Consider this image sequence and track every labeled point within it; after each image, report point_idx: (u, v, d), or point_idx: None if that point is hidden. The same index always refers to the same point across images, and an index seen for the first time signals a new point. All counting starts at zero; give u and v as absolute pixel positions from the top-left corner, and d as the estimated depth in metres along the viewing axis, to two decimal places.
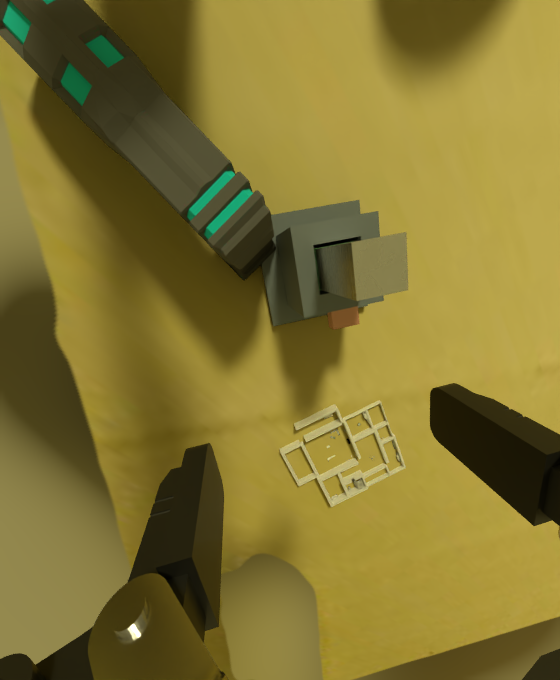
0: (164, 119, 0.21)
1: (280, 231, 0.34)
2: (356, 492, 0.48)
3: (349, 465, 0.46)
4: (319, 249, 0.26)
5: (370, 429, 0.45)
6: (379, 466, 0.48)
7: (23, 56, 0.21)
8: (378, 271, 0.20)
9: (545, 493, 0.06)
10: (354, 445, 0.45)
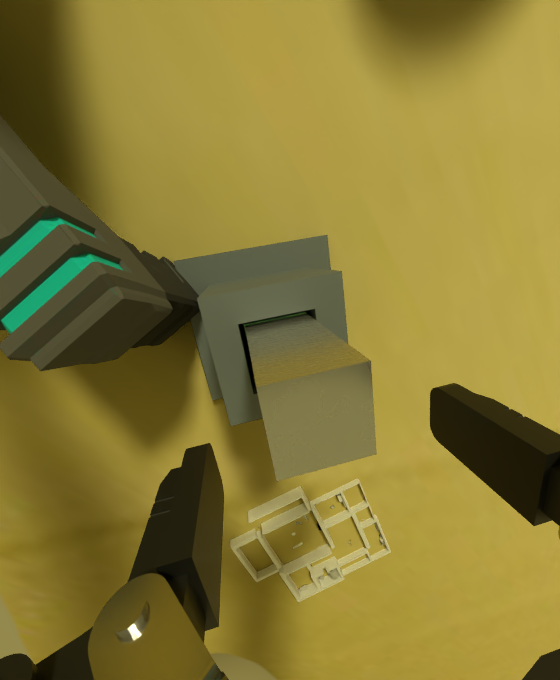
0: None
1: (215, 278, 0.24)
2: (329, 584, 0.39)
3: (320, 555, 0.37)
4: (246, 333, 0.16)
5: (346, 512, 0.36)
6: (358, 551, 0.39)
7: None
8: (316, 430, 0.10)
9: (545, 493, 0.06)
10: (326, 534, 0.36)
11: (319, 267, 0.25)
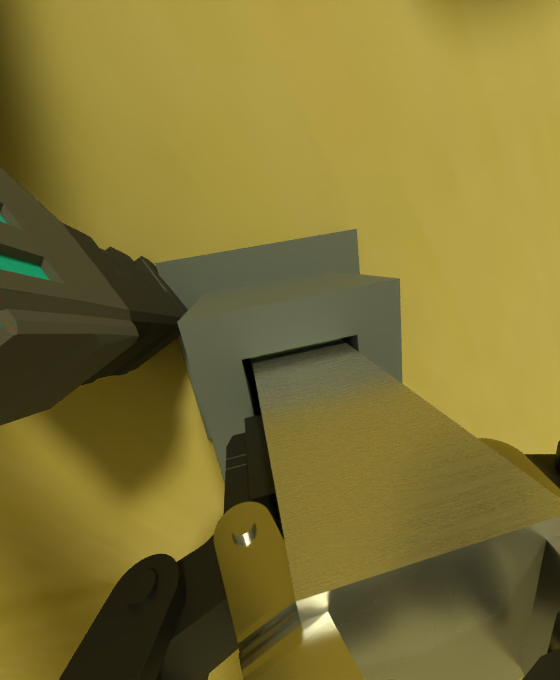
0: None
1: (211, 285, 0.18)
2: None
3: None
4: (254, 374, 0.10)
5: None
6: None
7: None
8: (427, 656, 0.04)
9: None
10: None
11: (345, 271, 0.20)
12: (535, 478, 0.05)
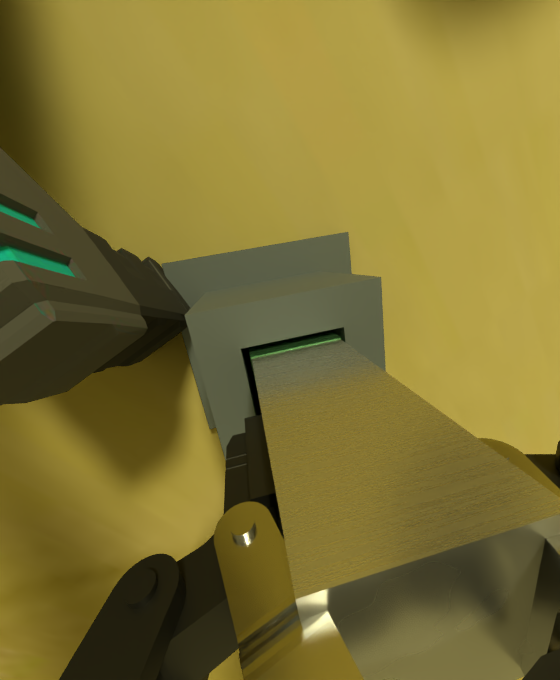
0: None
1: (213, 284, 0.20)
2: None
3: None
4: (254, 374, 0.10)
5: None
6: None
7: None
8: (426, 655, 0.04)
9: None
10: None
11: (338, 271, 0.21)
12: (535, 478, 0.05)
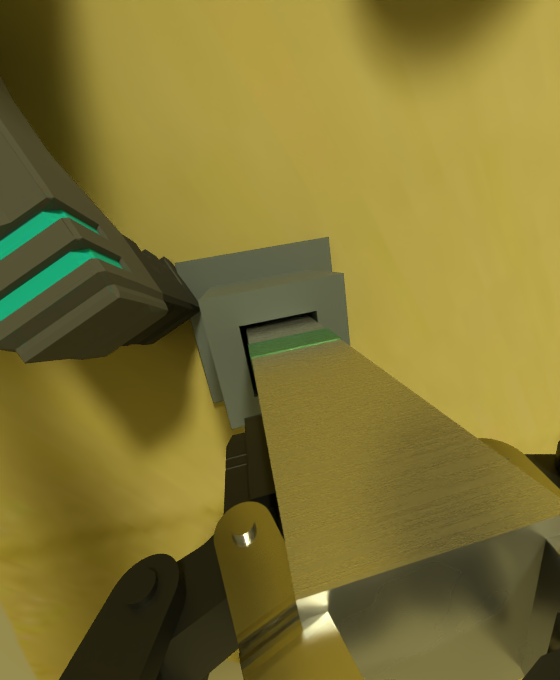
0: None
1: (216, 280, 0.24)
2: None
3: None
4: (254, 374, 0.10)
5: None
6: None
7: None
8: (427, 656, 0.04)
9: None
10: None
11: (320, 269, 0.25)
12: (535, 478, 0.05)
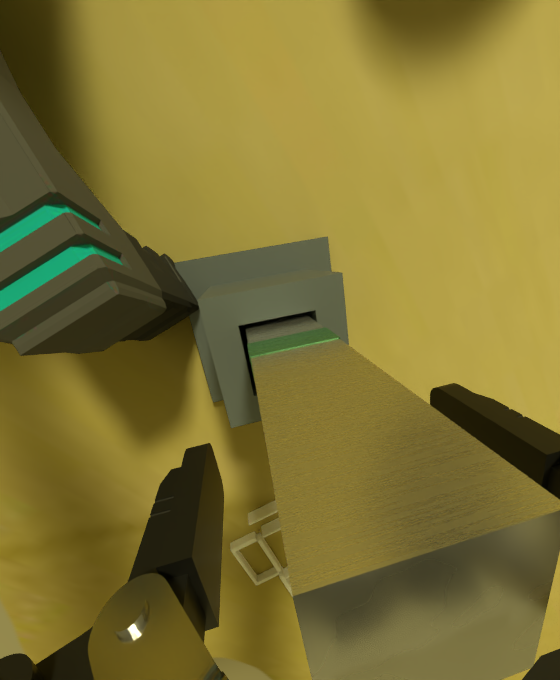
0: None
1: (216, 280, 0.24)
2: None
3: None
4: (253, 373, 0.10)
5: None
6: None
7: None
8: (423, 651, 0.04)
9: None
10: None
11: (320, 269, 0.25)
12: None
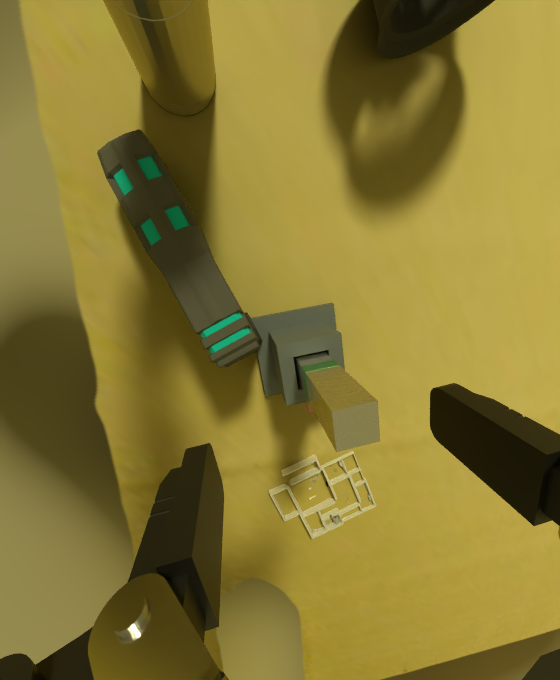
0: (203, 270, 0.30)
1: (272, 327, 0.44)
2: (333, 527, 0.57)
3: (327, 504, 0.55)
4: (309, 378, 0.30)
5: (345, 474, 0.54)
6: (353, 504, 0.57)
7: (120, 201, 0.31)
8: (354, 429, 0.24)
9: (545, 493, 0.06)
10: (331, 488, 0.54)
11: (329, 320, 0.45)
12: None
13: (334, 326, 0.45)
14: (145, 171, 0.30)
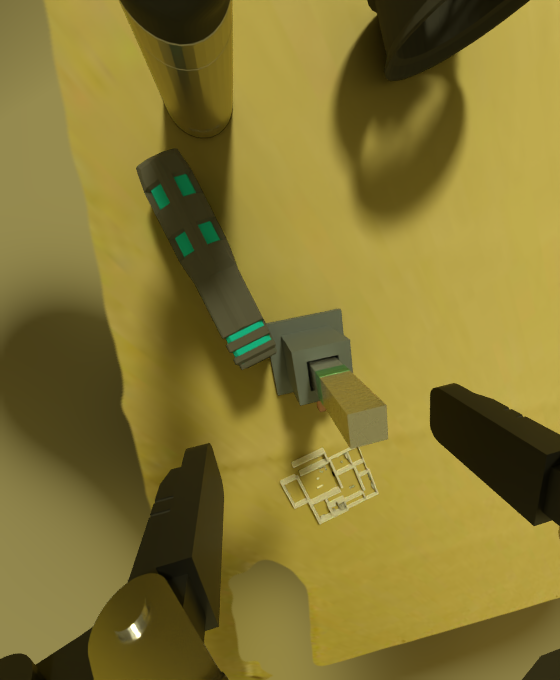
0: (231, 281, 0.34)
1: (284, 332, 0.47)
2: (339, 513, 0.62)
3: (334, 492, 0.60)
4: (323, 383, 0.33)
5: (350, 465, 0.59)
6: (357, 492, 0.62)
7: (156, 214, 0.33)
8: (366, 429, 0.27)
9: (545, 493, 0.06)
10: (337, 478, 0.58)
11: (336, 325, 0.48)
12: None
13: (341, 330, 0.49)
14: (180, 187, 0.33)
